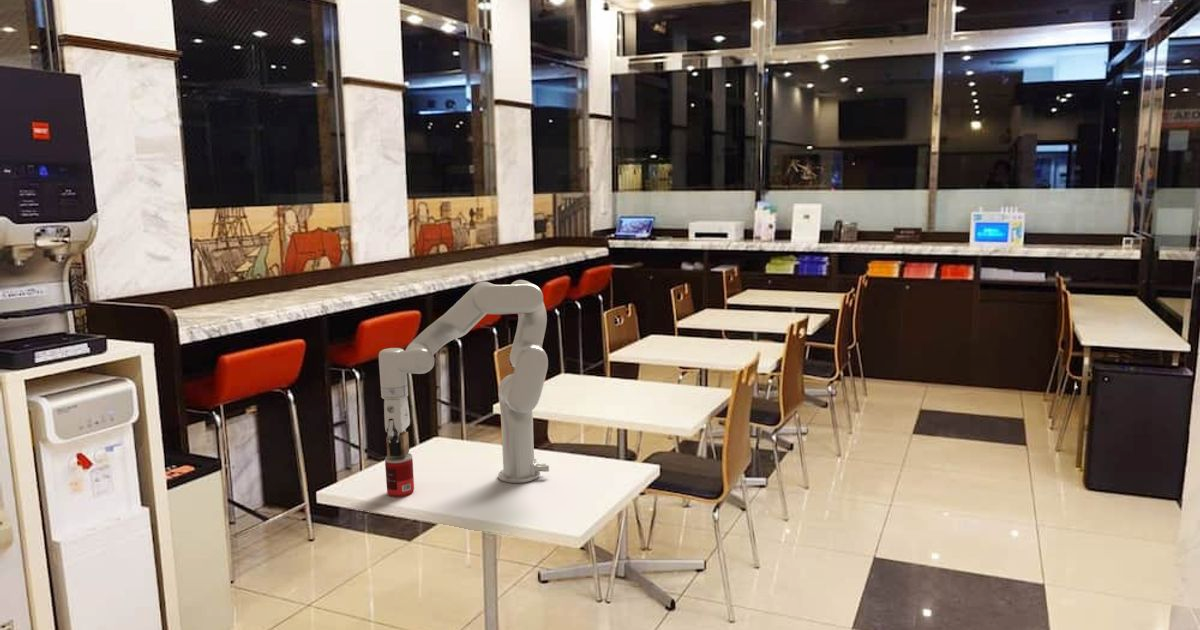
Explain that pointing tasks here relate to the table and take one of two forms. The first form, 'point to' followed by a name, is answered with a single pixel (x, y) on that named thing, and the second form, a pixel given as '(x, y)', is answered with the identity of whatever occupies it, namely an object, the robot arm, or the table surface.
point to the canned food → (399, 475)
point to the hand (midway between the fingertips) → (398, 451)
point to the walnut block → (404, 444)
